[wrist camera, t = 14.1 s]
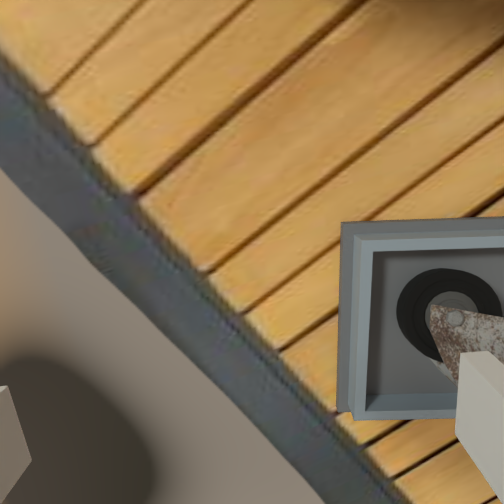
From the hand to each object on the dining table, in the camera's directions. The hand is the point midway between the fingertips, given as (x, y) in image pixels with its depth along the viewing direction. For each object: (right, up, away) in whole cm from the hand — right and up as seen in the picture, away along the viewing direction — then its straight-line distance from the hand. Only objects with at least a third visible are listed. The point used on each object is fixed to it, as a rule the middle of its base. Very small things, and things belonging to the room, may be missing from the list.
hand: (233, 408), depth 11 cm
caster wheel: (+19, -2, +25) cm, 31 cm away
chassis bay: (+19, -2, +26) cm, 32 cm away
